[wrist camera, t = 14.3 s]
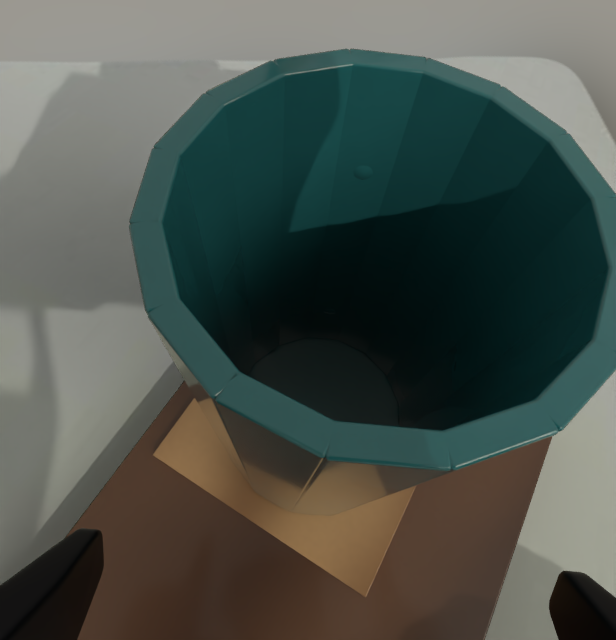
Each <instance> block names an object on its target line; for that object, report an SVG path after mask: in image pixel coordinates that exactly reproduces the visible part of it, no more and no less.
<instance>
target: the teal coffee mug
mask: <svg viewBox="0 0 616 640" xmlns="http://www.w3.org/2000/svg"><path fill="white" fill-rule="evenodd" d="M129 222H130V225H129V231H130V236H131V241H132V246H133V251H134V256H135V262H136V267H137V272H138V277H139V282H140V287H141V293H142V298H143V303H144V308H145V311H146V313H147V315H148V318H149V320H150V322H151V323H152V325H153V327H154V328H155V330H156V332H157V334H158V335H159V337H160V339H161V340H162V342H163V344H164V346H165V347H166V349H167V351H168V353H169V354H170V356H171V358H172V359H173V361H174V363H175V365H176V366H177V368H178V370H179V371H180V373H181V375H182V377H183V378H184V380H185V382H186V384H187V385H188V387H189V389H190V390H191V392H192V394H193V396H194V397H195V399H196V401H197V402H198V404H199V406H200V408H201V409H202V411H203V413H204V415H205V416H206V418H207V420H208V421H209V423H210V425H211V427H212V428H213V430H214V432H215V434H216V435H217V437H218V439H219V440H220V442H221V444H222V446H223V447H224V449H225V451H226V452H227V454H228V456H229V458H230V459H231V461H232V463H233V464H234V465H235V467H236V468H237V469H238V471H239V472H240V473H241V475H242V476H243V478H244V479H245V480H246V481H247V482H248V484H249V485H250V486H251V488H252V489H253V490H254V491H255V492H256V493H257V494H259V495H260V496H262V497H264V498H265V499H267V500H268V501H270V502H271V503H273V504H275V505H277V506H279V507H281V508H283V509H285V510H287V511H289V512H292V513H300V514H306V515H324V516H331V515H332V516H333V515H336V514H339V513H342V512H345V511H347V510H350V509H353V508H356V507H359V506H361V505H364V504H367V503H370V502H372V501H375V500H378V499H381V498H383V497H386V496H389V495H392V494H394V493H397V492H400V491H403V490H405V489H408V488H411V487H414V486H416V485H419V484H422V483H425V482H427V481H430V480H433V479H436V478H438V477H441V476H444V475H447V474H449V473H452V472H455V471H458V470H460V469H463V468H466V467H469V466H471V465H474V464H477V463H480V462H482V461H485V460H488V459H491V458H493V457H496V456H499V455H502V454H504V453H507V452H510V451H513V450H515V449H518V448H521V447H524V446H526V445H529V444H532V443H535V442H537V441H540V440H543V439H546V438H548V437H551V436H554V435H556V434H557V433H558V432H559V431H562V430H563V429H564V428H565V427H566V426H567V425H568V424H569V422H570V421H571V420H572V419H573V418H574V417H575V416H576V415H577V413H578V412H579V411H580V410H581V409H582V408H583V407H584V406H585V404H586V403H587V402H588V401H589V400H590V399H591V398H592V397H593V395H594V394H595V393H596V392H597V391H598V390H599V389H600V388H601V386H602V385H603V384H604V383H605V382H606V381H607V380H608V379H609V377H610V376H611V375H612V374H613V373H614V372H615V371H616V193H615V192H614V191H613V189H612V188H611V187H610V186H609V184H608V183H607V182H606V180H605V179H604V178H603V176H602V175H601V174H600V173H599V171H598V170H597V169H596V167H595V166H594V165H593V163H592V162H591V161H590V160H589V158H588V157H587V156H586V154H585V153H584V152H583V150H582V149H581V148H580V147H579V145H578V144H577V143H576V141H575V140H574V139H573V137H572V136H571V135H570V134H568V133H567V131H566V130H565V129H563V128H562V127H560V126H559V125H558V124H556V123H555V122H553V121H552V120H550V119H549V118H548V117H546V116H545V115H543V114H542V113H541V112H539V111H538V110H536V109H535V108H534V107H532V106H531V105H529V104H528V103H526V102H525V101H524V100H522V99H521V98H519V97H518V96H517V95H515V94H514V93H512V92H511V91H510V90H508V89H507V88H505V87H501V85H500V84H497V83H495V82H492V81H489V80H487V79H484V78H481V77H479V76H476V75H473V74H471V73H468V72H465V71H463V70H460V69H457V68H455V67H452V66H449V65H447V64H444V63H441V62H439V61H436V60H433V59H431V58H426V57H421V56H412V55H404V54H395V53H385V52H378V51H369V50H360V49H350V50H349V49H341V50H334V51H327V52H320V53H314V54H307V55H300V56H293V57H286V58H279V59H275V60H274V61H269V62H266V63H264V64H262V65H260V66H258V67H256V68H254V69H252V70H250V71H248V72H245V73H243V74H241V75H239V76H237V77H235V78H233V79H231V80H229V81H227V82H225V83H222V84H220V85H218V86H216V87H214V88H212V89H210V90H208V91H207V92H206V93H204V94H202V95H201V96H200V97H199V98H198V99H197V101H196V102H195V103H194V104H193V105H192V106H191V107H190V108H189V109H188V110H187V111H186V112H185V113H184V114H183V115H182V116H181V117H180V119H179V120H178V121H177V122H176V123H175V124H174V125H173V126H172V127H171V128H170V129H169V130H168V131H167V132H166V133H165V134H164V135H163V137H162V138H161V139H160V140H159V141H158V142H157V143H156V144H155V145H154V148H153V149H152V151H151V154H150V157H149V160H148V163H147V166H146V170H145V173H144V176H143V179H142V182H141V186H140V189H139V192H138V195H137V198H136V201H135V205H134V208H133V211H132V214H131V217H130V221H129Z"/></svg>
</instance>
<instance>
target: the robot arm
mask: <svg viewBox="0 0 616 640" xmlns="http://www.w3.org/2000/svg"><path fill="white" fill-rule="evenodd" d="M103 568H104V551H103V536H102V532H101V531H100V530H97V529H86V528H81V529H78V530H76V531H74V532H73V533H72V534H70V535H69V536H68V537H66V538H65V539H63V540H62V541H61V542H59V543H58V544H57V545H55V546H54V547H52V548H51V549H50V550H48V551H47V552H46V553H44V554H43V555H42V556H40V557H39V558H37V559H36V560H35V561H33V562H32V563H31V564H29V565H28V566H26V567H25V568H24V569H22V570H21V571H20V572H18V573H17V574H15V575H14V576H13V577H11V578H10V579H9V580H7V581H6V582H5V583H3V584H2V585H0V640H77V639H78V636H79V634H80V631H81V628H82V626H83V623H84V621H85V618H86V615H87V613H88V610H89V607H90V605H91V602H92V599H93V597H94V594H95V592H96V589H97V586H98V584H99V581H100V578H101V575H102V572H103ZM549 610H550V615H551V618H552V621H553V624H554V627H555V630H556V633H557V636H558V639H559V640H616V598H615V597H614V596H613V595H611V594H610V593H609V592H608V591H607V590H605V589H604V588H603V587H602V586H600V585H599V584H598V583H597V582H595V581H594V580H593V579H592V578H590V577H589V576H588V575H586V574H584V573H581V572H572V571H563V572H561V573H560V574H559V576H558V579H557V582H556V584H555V587H554V590H553V593H552V595H551V598H550V602H549Z"/></svg>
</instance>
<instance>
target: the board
mask: <svg viewBox="0 0 616 640" xmlns="http://www.w3.org/2000/svg"><path fill="white" fill-rule="evenodd" d="M551 439H552V436H551V437H548V438H546V439H543V440H540V441H537V442H535V443H532V444H529V445H526V446H524V447H521V448H518V449H515V450H513V451H510V452H507V453H504V454H502V455H499V456H496V457H493V458H491V459H488V460H485V461H482V462H480V463H477V464H474V465H471V466H469V467H466V468H463V469H460V470H458V471H455V472H452V473H449V474H447V475H444V476H441V477H438V478H436V479H433V480H430V481H427V482H425V483H422V484H419V485H416V486H414V487H411V488H408V489H405V490H403V491H400V492H397V493H394V494H392V495H389V496H386V497H383V498H381V499H378V500H375V501H372V502H370V503H367V504H364V505H361V506H359V507H356V508H353V509H350V510H347V511H345V512H342V513H339V514H336V515H333V516H332V515H331V516H324V515H306V514H300V513H292V512H289V511H287V510H285V509H283V508H281V507H279V506H277V505H275V504H273V503H271V502H270V501H268V500H267V499H265V498H264V497H262V496H260V495H259V494H257V493H256V492H255V491H254V490H253V489H252V488H251V486H250V485H249V484H248V482H247V481H246V480H245V479H244V478H243V476H242V475H241V473H240V472H239V471H238V469H237V468H236V467H235V465H234V464H233V463H232V461H231V459H230V458H229V456H228V454H227V452H226V451H225V449H224V447H223V446H222V444H221V442H220V440H219V439H218V437H217V435H216V434H215V432H214V430H213V428H212V427H211V425H210V423H209V421H208V420H207V418H206V416H205V415H204V413H203V411H202V409H201V408H200V406H199V404H198V402H197V401H196V399H195V397H194V396H193V394H192V392H191V390H190V389H189V387H188V385H187V384H186V382H185V381H184V382H183V383H182V385H181V386H180V387H179V388H178V390H177V391H176V392H175V394H174V395H173V396H172V398H171V399H170V400H169V402H168V403H167V404H166V406H165V407H164V408H163V410H162V411H161V412H160V413H159V415H158V416H157V417H156V419H155V420H154V421H153V423H152V424H151V425H150V427H149V428H148V429H147V431H146V432H145V433H144V435H143V436H142V437H141V438H140V440H139V441H138V442H137V444H136V445H135V446H134V448H133V449H132V450H131V452H130V453H129V454H128V456H127V457H126V458H125V460H124V461H123V462H122V463H121V465H120V466H119V467H118V469H117V470H116V471H115V473H114V474H113V475H112V477H111V478H110V479H109V481H108V482H107V483H106V485H105V486H104V487H103V488H102V490H101V491H100V492H99V494H98V495H97V496H96V498H95V499H94V500H93V502H92V503H91V504H90V506H89V507H88V508H87V510H86V511H85V512H84V513H83V515H82V516H81V517H80V519H79V520H78V521H77V523H76V524H75V525H74V527H73V528H72V529H71V531H70V532H69V533H68V535H67V536H66V537H68V536H69V535H70V534H72V533H73V532H74V531H76V530H78V529H81V528H86V529H97V530H100V531H101V532H102V536H103V551H104V568H103V572H102V575H101V578H100V581H99V584H98V586H97V589H96V592H95V594H94V597H93V599H92V602H91V605H90V607H89V610H88V613H87V615H86V618H85V621H84V623H83V626H82V628H81V631H80V634H79V636H78V639H77V640H485V637H486V634H487V631H488V628H489V625H490V622H491V619H492V616H493V613H494V610H495V607H496V604H497V601H498V598H499V595H500V592H501V589H502V586H503V583H504V580H505V577H506V574H507V571H508V568H509V565H510V562H511V559H512V556H513V553H514V550H515V547H516V544H517V541H518V538H519V535H520V532H521V529H522V526H523V523H524V520H525V517H526V514H527V511H528V508H529V505H530V502H531V499H532V496H533V493H534V490H535V487H536V484H537V481H538V478H539V475H540V472H541V469H542V466H543V463H544V460H545V457H546V454H547V451H548V448H549V445H550V442H551ZM66 537H65V538H66ZM65 538H64V539H65Z"/></svg>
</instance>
